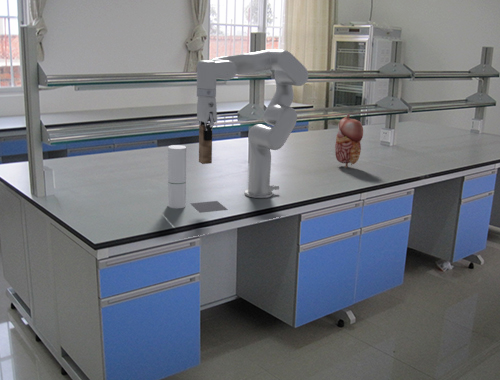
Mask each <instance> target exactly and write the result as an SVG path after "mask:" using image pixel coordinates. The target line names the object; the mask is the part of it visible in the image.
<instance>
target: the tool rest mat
mask: <svg viewBox="0 0 500 380" xmlns="http://www.w3.org/2000/svg"><path fill="white" fill-rule="evenodd" d="M189 204H190V205H191V206H192V207H193V208H194V209H195V210H197V212H199V213H208V212H209V213H210V212H211V213H212V212H219V211H228V208H227V207H225V206H224V205H223V204H222V203H220V202H219V201H218V200H214V201H213V200H212V201H203V202H202V201H201V202H193V203H189Z"/></svg>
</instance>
